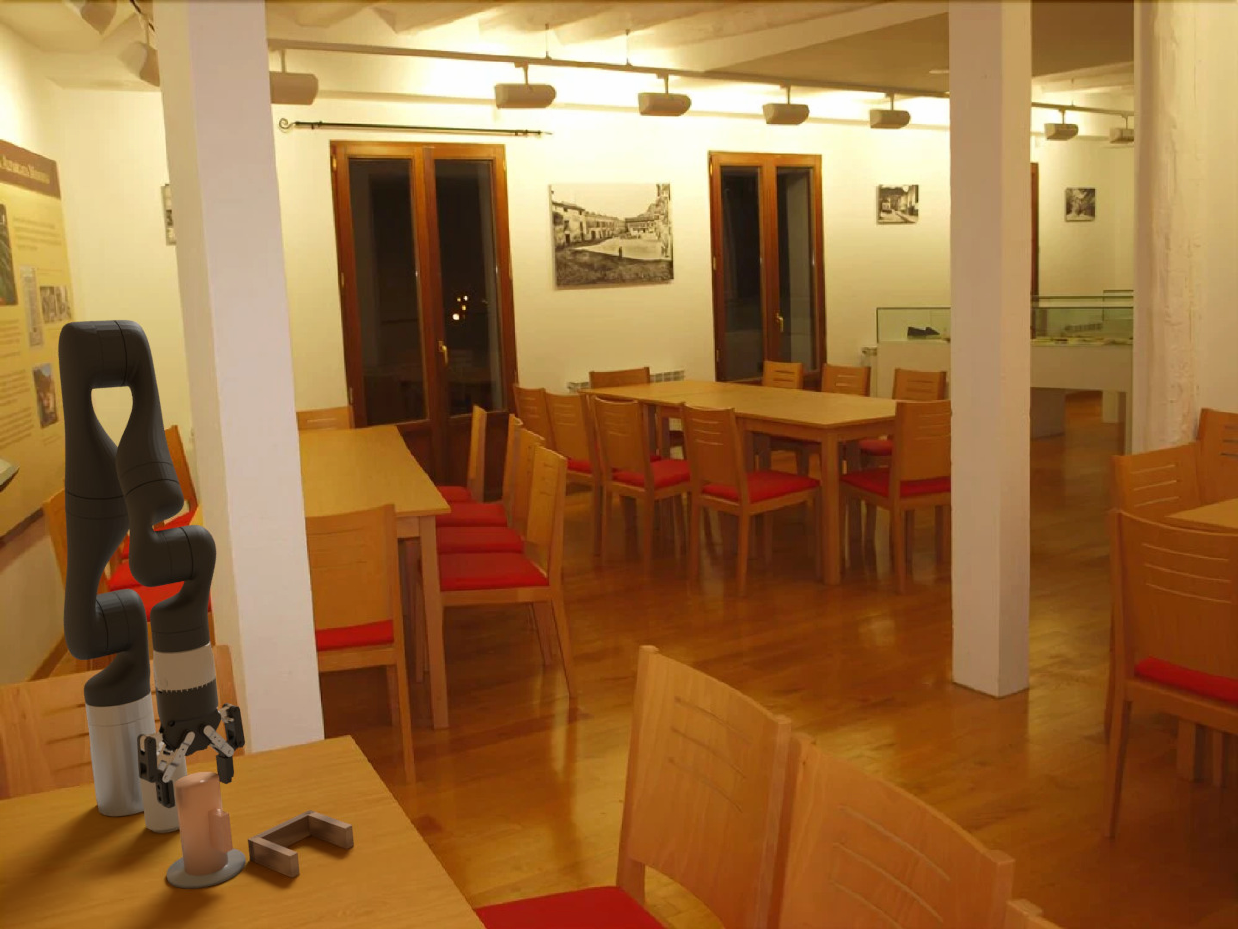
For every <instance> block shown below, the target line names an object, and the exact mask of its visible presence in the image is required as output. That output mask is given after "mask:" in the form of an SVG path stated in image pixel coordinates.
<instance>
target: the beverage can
mask: <svg viewBox="0 0 1238 929" xmlns="http://www.w3.org/2000/svg"><path fill="white" fill-rule="evenodd" d="M163 745H164V743H163V742H162V741H161V742H160V743H159V749H158V750H157V762H158V760H159V759H158V755H159V753H160V751H161V749H162V747H163ZM173 755H174V752H173V751H171V753H170V756H171V757H172V756H173ZM187 775H188V769H187V762H186V756H184V757H183V759H182V761H181V764H180V765H179V766H177V767H176V769H175V771H174V773H173V775H172V777H171V779H170V780H172V781H173V788H174V798H175V806H174V807H172V808H170V809H169V808H166V807H164V806H163V805H162V804H160V803H159V802H158V801H157V793H156V784H155V783H150V782H148V781H146V780H144V779H141V778H140V783H141V792H142V800H143V808H144V811H143V814H144V823H145V827H146V828H147V829H148V830H151V831H152V832H154V833H158V834H159V833H160V834H162V833H163V834H164V833H165V834H166V833H171V832H174V831H177V830H180V828H179V820H178V811H177V803H176V794H175V782H176V781H177V780H178V779H180V778H182V777H184V776H187Z"/></svg>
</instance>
